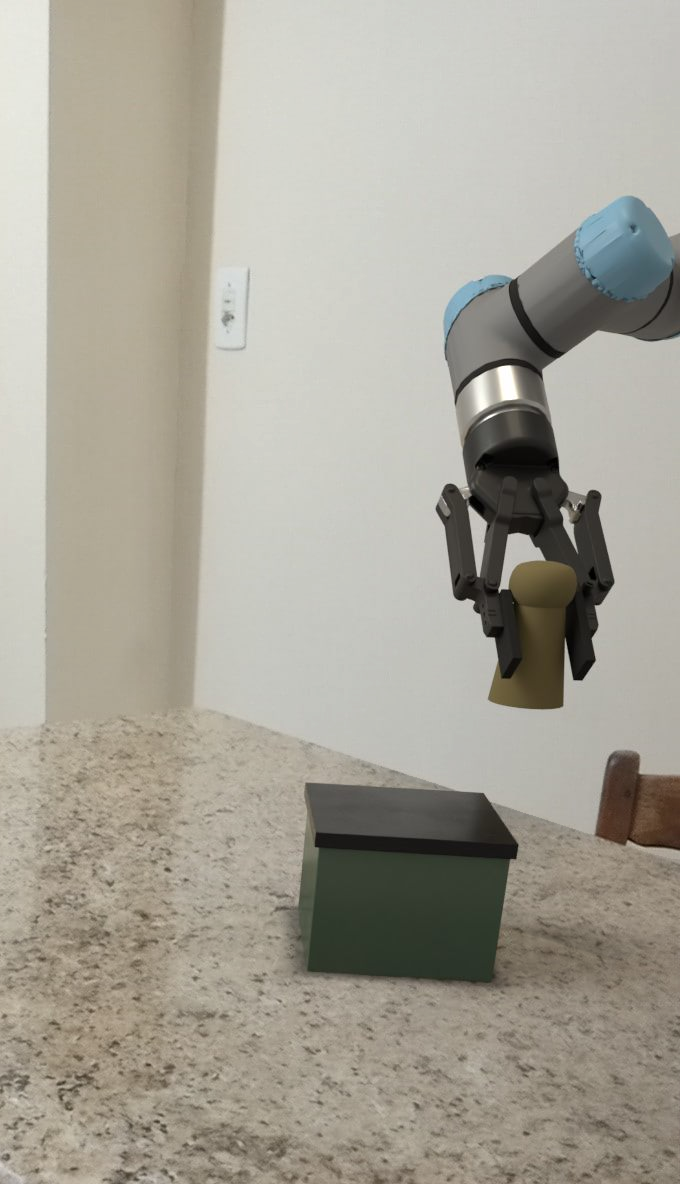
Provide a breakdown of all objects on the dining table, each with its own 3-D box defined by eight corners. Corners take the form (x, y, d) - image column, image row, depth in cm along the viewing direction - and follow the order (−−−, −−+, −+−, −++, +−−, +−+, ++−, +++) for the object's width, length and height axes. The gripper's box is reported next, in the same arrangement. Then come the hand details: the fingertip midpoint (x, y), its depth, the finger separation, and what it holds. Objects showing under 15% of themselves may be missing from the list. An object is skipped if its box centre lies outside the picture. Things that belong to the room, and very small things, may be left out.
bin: (465, 918, 101) (483, 792, 97) (497, 985, 89) (519, 844, 85) (293, 908, 101) (305, 782, 98) (302, 972, 89) (315, 832, 86)
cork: (541, 712, 108) (563, 567, 103) (473, 699, 111) (492, 559, 107) (577, 703, 112) (599, 563, 108) (510, 691, 116) (529, 556, 111)
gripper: (592, 475, 120) (639, 699, 111) (389, 466, 118) (420, 694, 109) (628, 410, 113) (681, 643, 104) (414, 400, 112) (449, 636, 103)
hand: (548, 669), depth 107 cm, fingers closed on cork, 5 cm apart
